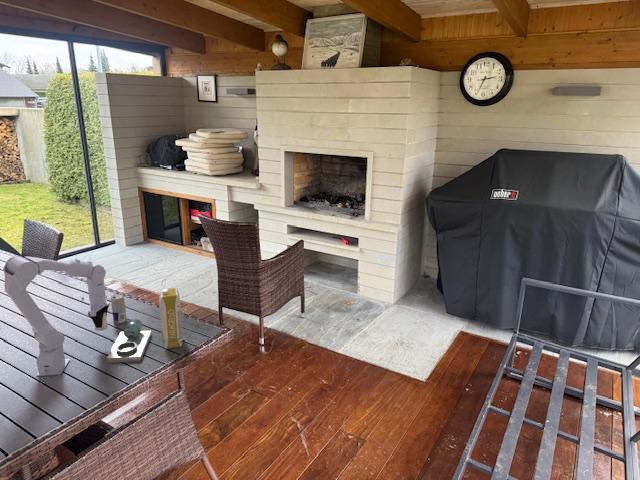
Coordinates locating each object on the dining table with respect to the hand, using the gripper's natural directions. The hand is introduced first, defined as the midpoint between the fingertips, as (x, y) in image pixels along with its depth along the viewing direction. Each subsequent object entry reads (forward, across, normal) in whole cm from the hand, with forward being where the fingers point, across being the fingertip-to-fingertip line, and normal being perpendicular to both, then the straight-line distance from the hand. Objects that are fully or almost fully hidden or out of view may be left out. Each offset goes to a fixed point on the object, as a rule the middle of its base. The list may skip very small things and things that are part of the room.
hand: (101, 324), depth 174 cm
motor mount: (+9, -3, -11) cm, 15 cm away
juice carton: (+10, -1, -27) cm, 29 cm away
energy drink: (+10, +20, -1) cm, 22 cm away
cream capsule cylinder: (+2, 0, 0) cm, 2 cm away
